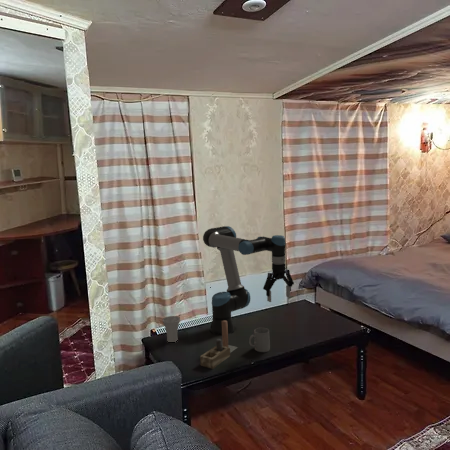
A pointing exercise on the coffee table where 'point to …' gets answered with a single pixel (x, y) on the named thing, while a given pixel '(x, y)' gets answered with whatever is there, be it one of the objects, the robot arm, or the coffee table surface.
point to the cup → (171, 327)
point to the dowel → (225, 333)
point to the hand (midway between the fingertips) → (278, 299)
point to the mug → (261, 340)
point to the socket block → (215, 355)
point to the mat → (231, 348)
